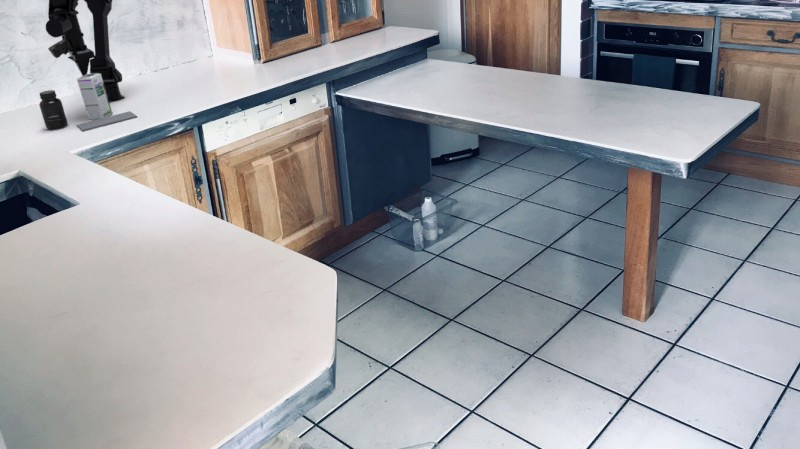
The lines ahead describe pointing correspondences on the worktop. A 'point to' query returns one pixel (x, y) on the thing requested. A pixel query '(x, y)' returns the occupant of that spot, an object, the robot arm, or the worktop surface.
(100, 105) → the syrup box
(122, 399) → the worktop surface
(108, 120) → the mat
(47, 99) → the supplement bottle
